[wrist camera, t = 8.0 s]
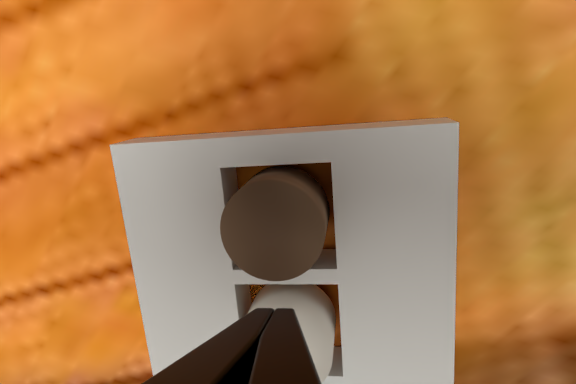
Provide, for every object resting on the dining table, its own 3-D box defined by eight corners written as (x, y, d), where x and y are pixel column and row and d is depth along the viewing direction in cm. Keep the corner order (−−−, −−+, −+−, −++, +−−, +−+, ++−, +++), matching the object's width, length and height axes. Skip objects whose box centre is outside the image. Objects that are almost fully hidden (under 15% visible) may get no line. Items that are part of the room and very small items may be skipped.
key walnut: (326, 163, 20) (321, 178, 17) (332, 252, 21) (327, 281, 18) (234, 168, 21) (213, 183, 18) (244, 253, 22) (226, 281, 19)
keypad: (446, 117, 20) (459, 122, 17) (442, 458, 25) (451, 498, 22) (135, 138, 22) (109, 145, 20) (187, 440, 27) (171, 474, 25)
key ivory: (333, 277, 21) (329, 310, 18) (338, 354, 23) (335, 397, 20) (247, 277, 22) (230, 309, 19) (256, 352, 23) (240, 393, 20)
